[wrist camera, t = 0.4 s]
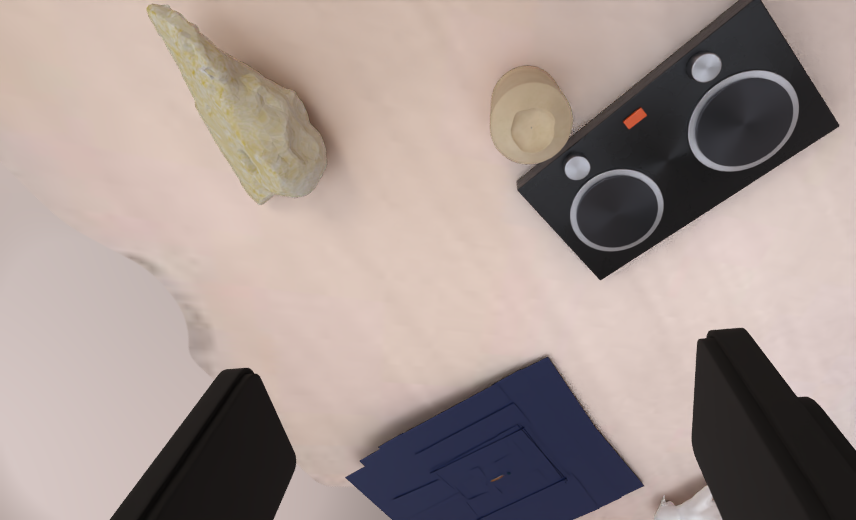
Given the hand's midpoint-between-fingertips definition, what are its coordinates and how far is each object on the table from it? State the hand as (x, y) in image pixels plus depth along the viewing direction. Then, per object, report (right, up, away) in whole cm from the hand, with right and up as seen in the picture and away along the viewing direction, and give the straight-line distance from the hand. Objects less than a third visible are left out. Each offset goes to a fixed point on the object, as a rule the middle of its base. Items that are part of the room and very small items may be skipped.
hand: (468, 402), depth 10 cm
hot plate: (+19, +12, +30) cm, 38 cm away
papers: (+7, -23, +52) cm, 57 cm away
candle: (+7, +16, +30) cm, 35 cm away
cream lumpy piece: (-16, +17, +33) cm, 41 cm away
